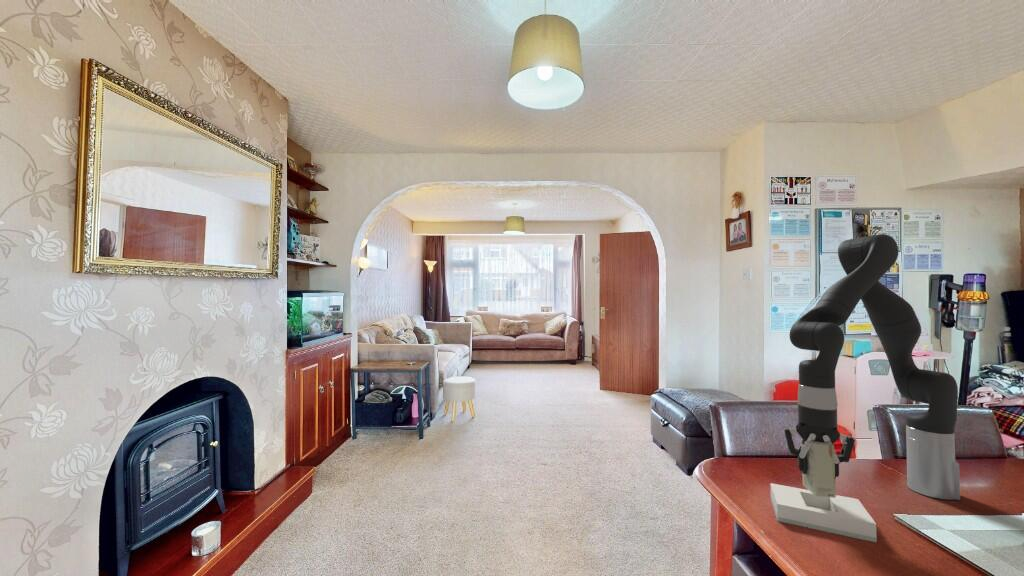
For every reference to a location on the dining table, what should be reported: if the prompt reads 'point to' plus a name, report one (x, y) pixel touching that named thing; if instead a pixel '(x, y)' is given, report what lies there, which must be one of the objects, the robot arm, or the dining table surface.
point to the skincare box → (820, 469)
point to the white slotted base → (822, 512)
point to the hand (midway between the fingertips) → (817, 474)
